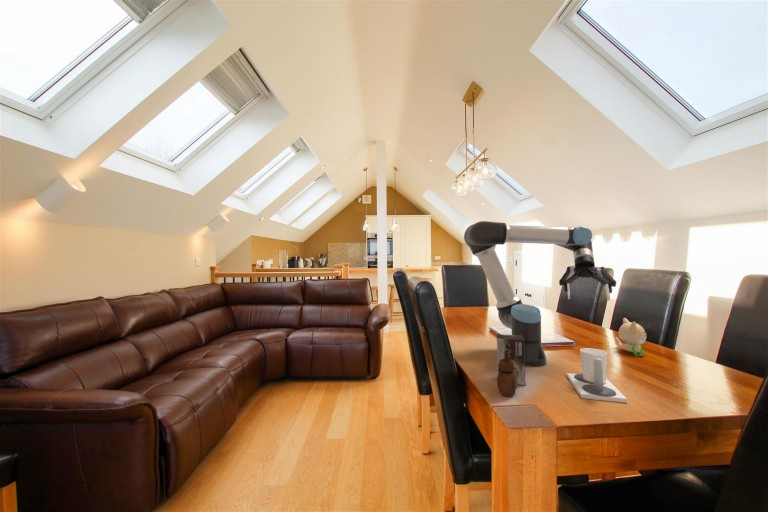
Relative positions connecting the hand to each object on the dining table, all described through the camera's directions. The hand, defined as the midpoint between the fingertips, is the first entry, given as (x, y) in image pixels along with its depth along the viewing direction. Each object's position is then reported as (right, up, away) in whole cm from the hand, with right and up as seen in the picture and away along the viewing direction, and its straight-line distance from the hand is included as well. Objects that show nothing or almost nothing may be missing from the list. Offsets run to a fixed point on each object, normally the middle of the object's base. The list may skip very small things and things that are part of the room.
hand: (588, 297), depth 127 cm
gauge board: (-13, -28, -22) cm, 38 cm away
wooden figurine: (-43, -28, -26) cm, 58 cm away
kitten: (+32, -28, +17) cm, 46 cm away
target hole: (-11, -26, -17) cm, 34 cm away
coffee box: (-38, -28, -15) cm, 49 cm away
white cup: (-10, -26, -19) cm, 34 cm away
